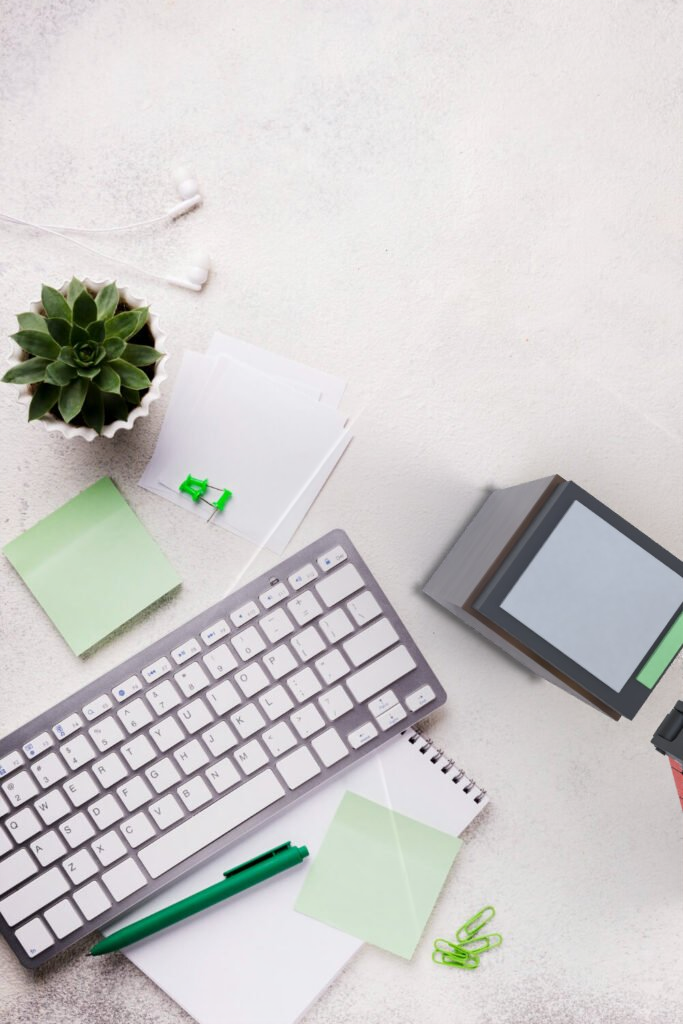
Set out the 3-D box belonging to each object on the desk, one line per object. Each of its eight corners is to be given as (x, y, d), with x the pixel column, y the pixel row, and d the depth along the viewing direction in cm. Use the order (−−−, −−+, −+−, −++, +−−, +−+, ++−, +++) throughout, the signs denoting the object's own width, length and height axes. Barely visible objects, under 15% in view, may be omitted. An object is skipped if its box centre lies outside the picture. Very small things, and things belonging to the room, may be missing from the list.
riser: (607, 575, 84) (712, 586, 62) (537, 674, 83) (617, 722, 61) (492, 491, 84) (557, 473, 62) (421, 590, 83) (460, 607, 61)
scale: (703, 588, 62) (725, 591, 58) (616, 712, 61) (634, 722, 58) (558, 482, 62) (572, 479, 58) (470, 606, 61) (479, 610, 58)
